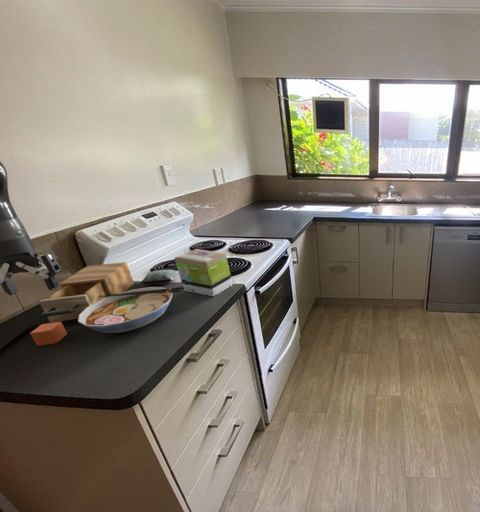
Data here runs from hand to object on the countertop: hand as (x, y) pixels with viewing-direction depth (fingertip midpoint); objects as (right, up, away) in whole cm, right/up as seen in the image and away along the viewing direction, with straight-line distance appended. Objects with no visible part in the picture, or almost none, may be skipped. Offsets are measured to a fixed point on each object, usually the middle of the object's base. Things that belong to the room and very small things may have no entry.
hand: (34, 291), depth 80 cm
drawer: (-5, -9, +17) cm, 20 cm away
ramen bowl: (+18, -12, +12) cm, 25 cm away
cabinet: (-9, -5, +30) cm, 31 cm away
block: (-1, -15, +5) cm, 16 cm away
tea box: (+28, -3, +34) cm, 44 cm away
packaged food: (+5, -1, +40) cm, 40 cm away
